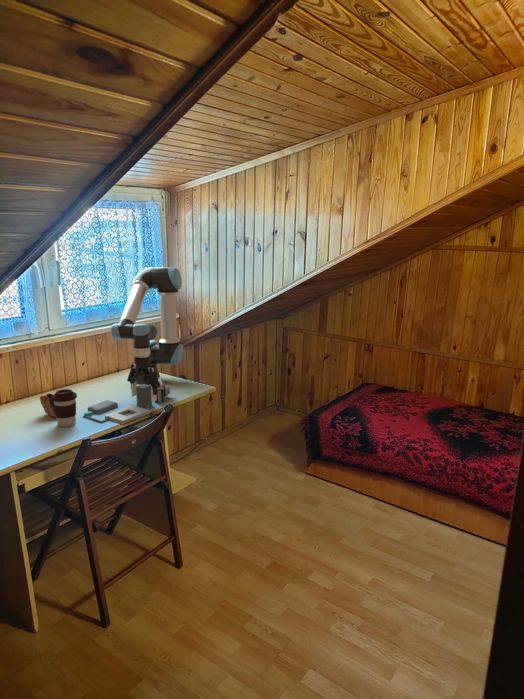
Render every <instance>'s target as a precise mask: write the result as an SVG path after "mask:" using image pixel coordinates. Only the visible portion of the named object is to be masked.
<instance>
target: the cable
mask: <svg viewBox="0 0 524 699" xmlns="http://www.w3.org/2000/svg"><path fill="white" fill-rule="evenodd" d="M93 415H94V413H93V412H91V411H89V412H88V411H87V412H84V413H83V415H82V418H85V419H88V420H91V421H94V422H96V423H100V424H103V423H106V422H108V421H111V420H110V418H108V419H106V418H105V419H103V420H100V419H97V418H94V417H91V416H93Z"/></svg>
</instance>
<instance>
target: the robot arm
mask: <svg viewBox="0 0 524 699" xmlns="http://www.w3.org/2000/svg"><path fill="white" fill-rule="evenodd" d="M182 281H183V280H182V276H181V272H180V270H179V269H178V268H176V267H170V266H167V267H165V266H164V267H161V266H160V267H159V266H158V267H156V266H150V267H146V268H144V269H142V270H141V271H140V272H138V274H137V275H136V276H135V277H134V279H133V280H132V283H131V286H130V287H131V291H130V294H129V296H128V298H127V301H126V304H125V307H124V309H123V312H122V314H121V318H120V319H119V323H118V322H117V323H114V324H112V326H111V329H110V334H111V336H112V338H113V339H117V340H133V355H134V356H133V357H134V359H133V361H134V363H132V364H131V365H130V370H129V373H128V376H127V380H126V381H127V382H128V383H129V384H130V391H131V397H135V396H136V397H137V392H136V386H138V385H142V384H146V385H150V386H151V402H152V403H154V402H155V401H156V400H157V395H156V394H157V388H158V387H160V383H159V381H158V378H157V377H160V378H161V375H160V372H159V370H158V365H157V364H159V365H179V364H180V363H181V361H182V359H183V356H184V355H183V354H184V346H183V344H182V343H180V342H181V341H180V339H178V336H177V334H178V333H177V332H178V331H177V299H176V298H177V297H176V296H177V295H178V293H179V290H181V289H182V283H183V282H182ZM151 289H156V293H157V294H158V295H159V309H160V311H159V312H160V313H159V314H160V330H159V327H158V326H157V324H155V323H146V322H142V323H138V322H137V319H138V316H139V314H140V311H141V308H142V306H143V303H144V300H145V298H146V294H148V293H149V291H150V290H151ZM136 322H137V323H136ZM159 331H160V332H159ZM159 333H160V339H158V342H157V340H155V339H156V337H157V336H158V335H159ZM137 383H138V384H137Z"/></svg>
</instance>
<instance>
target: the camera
mask: <svg viewBox="0 0 524 699" xmlns="http://www.w3.org/2000/svg"><path fill="white" fill-rule="evenodd" d="M157 378H158V381H159V383H160V387H158V388H157V394H156V395H157V400H156V401H154V403H155V404H164V400H165V397H168V396H169V395H170V394H171V393H170V392H171V391H170V390H171V389H170V386H168V385H165V384H163V381H162V379H161V376H160V377H157Z"/></svg>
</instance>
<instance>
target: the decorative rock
mask: <svg viewBox="0 0 524 699" xmlns="http://www.w3.org/2000/svg"><path fill="white" fill-rule="evenodd" d="M52 395H53V394H52V393H47V394H44V395H40V396H39V401H40V404H41V406H42V408H43V411H44V413H45V414H47V415H48V416H50V417H54V418H55V419H57V417H56V415H55V409H54V401H53V400H52Z"/></svg>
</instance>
